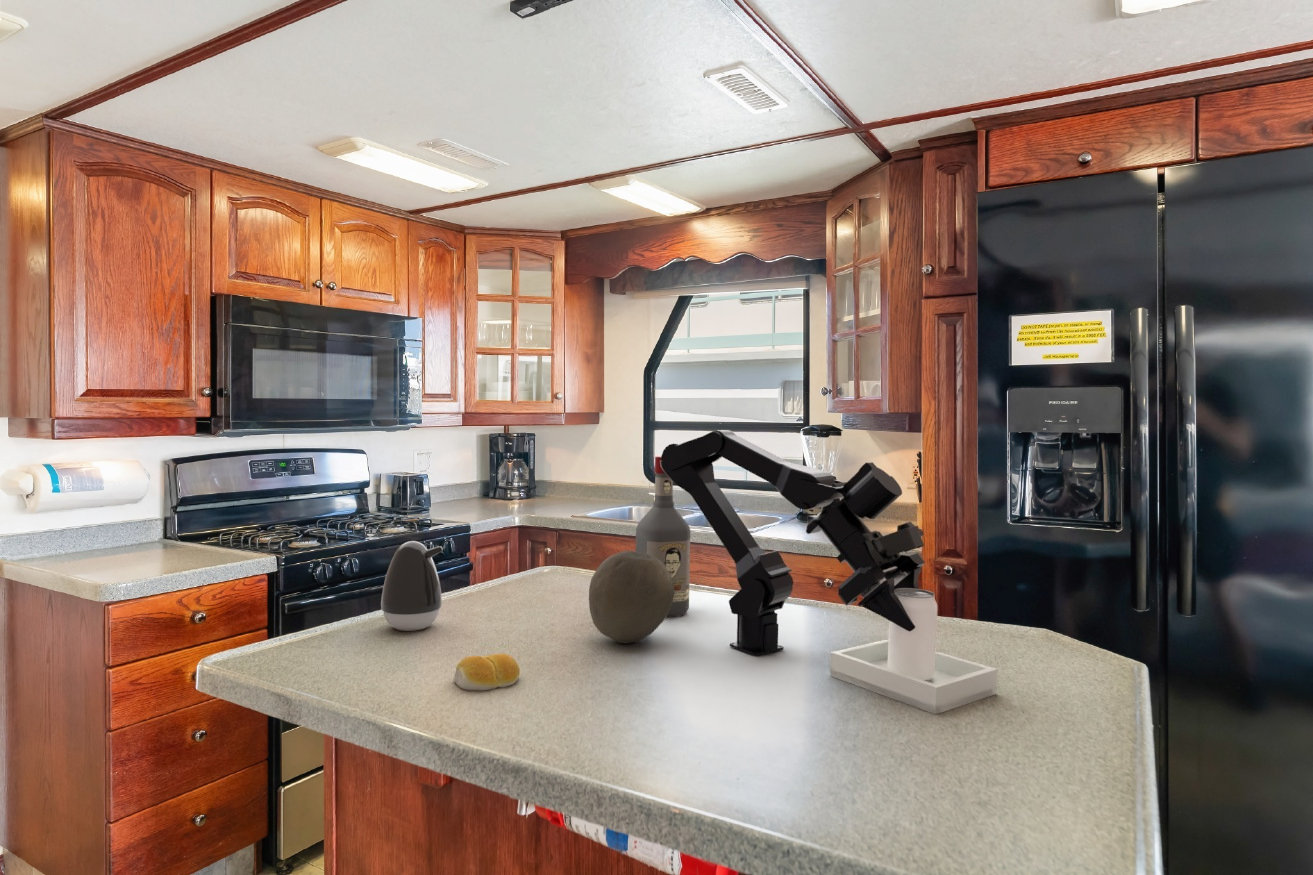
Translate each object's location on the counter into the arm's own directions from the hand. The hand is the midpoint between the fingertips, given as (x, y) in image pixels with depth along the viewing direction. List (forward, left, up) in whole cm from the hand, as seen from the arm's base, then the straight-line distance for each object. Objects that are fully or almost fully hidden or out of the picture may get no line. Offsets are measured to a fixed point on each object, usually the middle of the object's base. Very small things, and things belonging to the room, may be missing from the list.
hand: (921, 625), depth 114 cm
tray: (-1, 0, -9) cm, 9 cm away
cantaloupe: (-41, -22, -9) cm, 48 cm away
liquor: (-54, -6, -9) cm, 55 cm away
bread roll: (-35, -51, -9) cm, 62 cm away
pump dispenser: (-68, -50, -9) cm, 85 cm away
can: (-1, 0, -8) cm, 8 cm away
